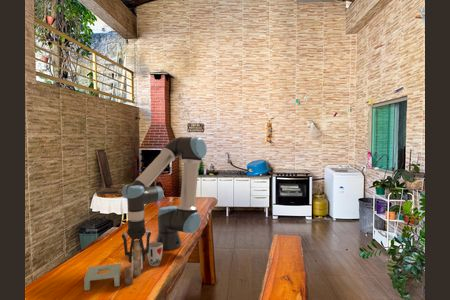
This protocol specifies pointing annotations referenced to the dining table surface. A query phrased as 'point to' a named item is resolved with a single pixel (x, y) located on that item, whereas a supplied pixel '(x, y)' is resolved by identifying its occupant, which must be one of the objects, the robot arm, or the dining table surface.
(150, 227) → the dining table surface
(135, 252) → the long pin
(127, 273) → the short pin
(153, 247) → the cup
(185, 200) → the robot arm
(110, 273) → the bridge
